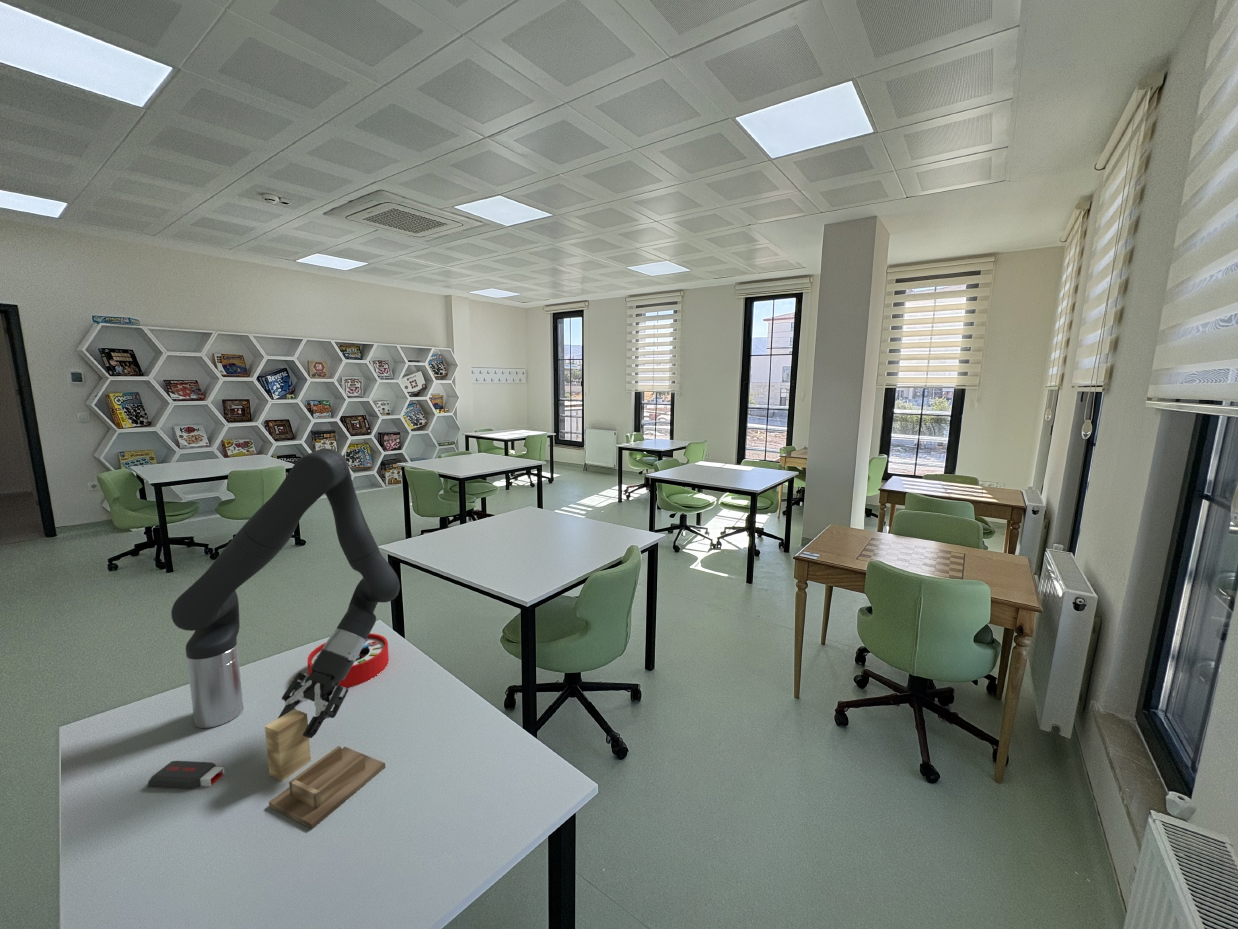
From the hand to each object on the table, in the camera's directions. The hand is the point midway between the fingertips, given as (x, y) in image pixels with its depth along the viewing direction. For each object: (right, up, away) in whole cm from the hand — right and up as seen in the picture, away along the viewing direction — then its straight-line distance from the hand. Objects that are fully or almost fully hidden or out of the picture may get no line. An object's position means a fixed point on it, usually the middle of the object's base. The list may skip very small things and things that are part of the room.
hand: (293, 731), depth 101 cm
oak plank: (-1, -8, 0) cm, 8 cm away
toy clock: (-9, -3, +37) cm, 38 cm away
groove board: (+10, -9, -4) cm, 14 cm away
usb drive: (-19, -9, -3) cm, 21 cm away
